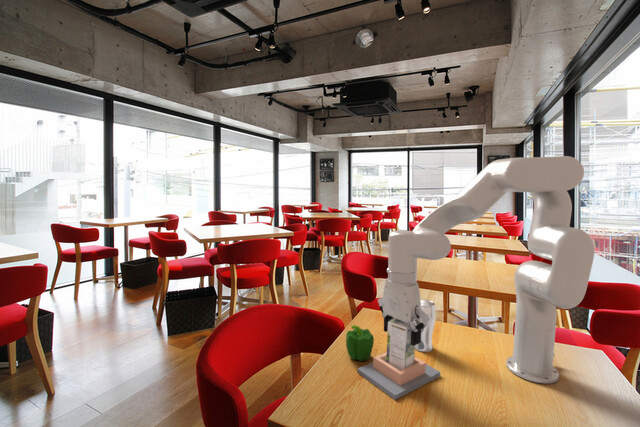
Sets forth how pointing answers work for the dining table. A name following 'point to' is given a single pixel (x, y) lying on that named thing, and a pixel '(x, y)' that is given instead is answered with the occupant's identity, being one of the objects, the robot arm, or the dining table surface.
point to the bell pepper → (359, 343)
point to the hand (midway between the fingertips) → (401, 336)
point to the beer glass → (427, 327)
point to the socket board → (397, 376)
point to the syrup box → (399, 344)
